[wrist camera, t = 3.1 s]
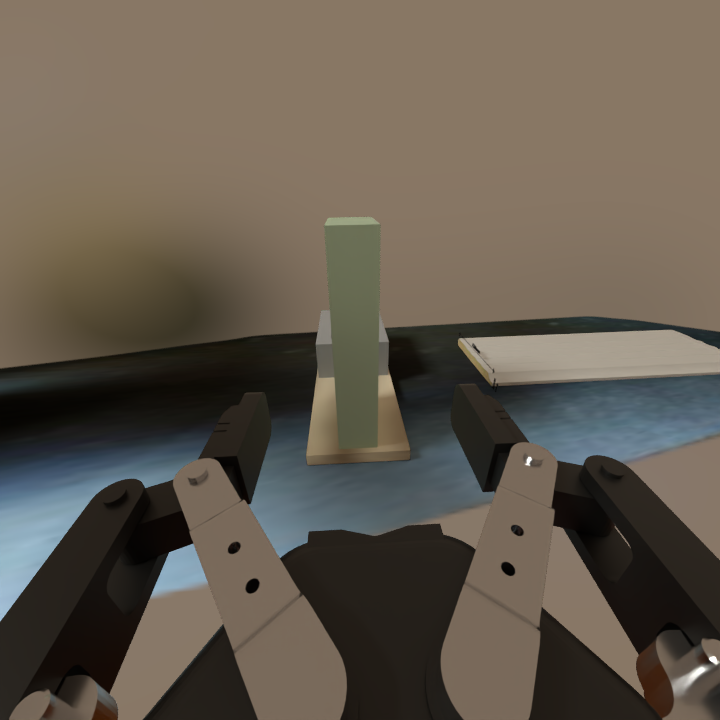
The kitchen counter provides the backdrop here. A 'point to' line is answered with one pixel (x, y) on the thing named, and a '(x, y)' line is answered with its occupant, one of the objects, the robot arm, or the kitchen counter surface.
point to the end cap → (326, 351)
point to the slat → (354, 326)
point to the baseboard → (589, 357)
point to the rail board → (326, 429)
